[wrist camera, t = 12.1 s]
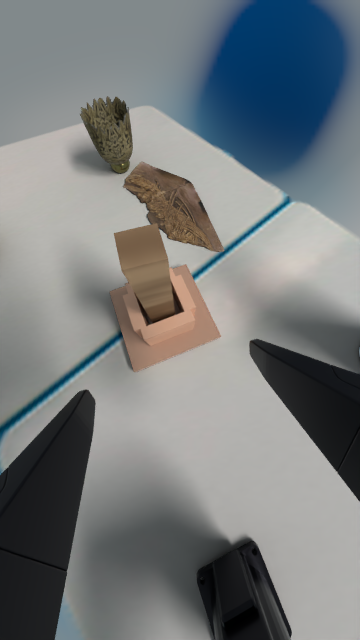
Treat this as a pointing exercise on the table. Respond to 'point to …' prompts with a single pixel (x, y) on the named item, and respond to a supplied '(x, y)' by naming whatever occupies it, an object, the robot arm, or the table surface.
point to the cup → (110, 131)
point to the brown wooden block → (147, 269)
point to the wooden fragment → (173, 206)
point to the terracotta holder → (164, 322)
